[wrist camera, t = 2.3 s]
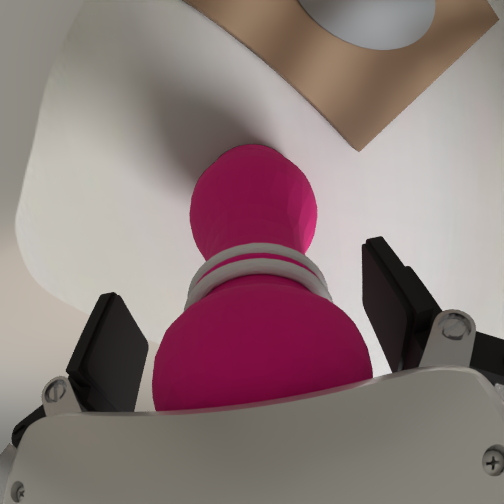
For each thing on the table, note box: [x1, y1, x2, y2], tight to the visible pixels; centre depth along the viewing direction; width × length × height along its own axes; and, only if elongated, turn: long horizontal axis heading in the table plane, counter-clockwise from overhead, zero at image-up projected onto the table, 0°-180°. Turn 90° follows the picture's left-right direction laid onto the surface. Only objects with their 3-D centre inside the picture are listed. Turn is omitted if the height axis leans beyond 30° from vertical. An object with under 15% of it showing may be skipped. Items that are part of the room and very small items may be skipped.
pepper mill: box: [152, 144, 373, 411], centre depth 13 cm, size 7×7×20 cm
